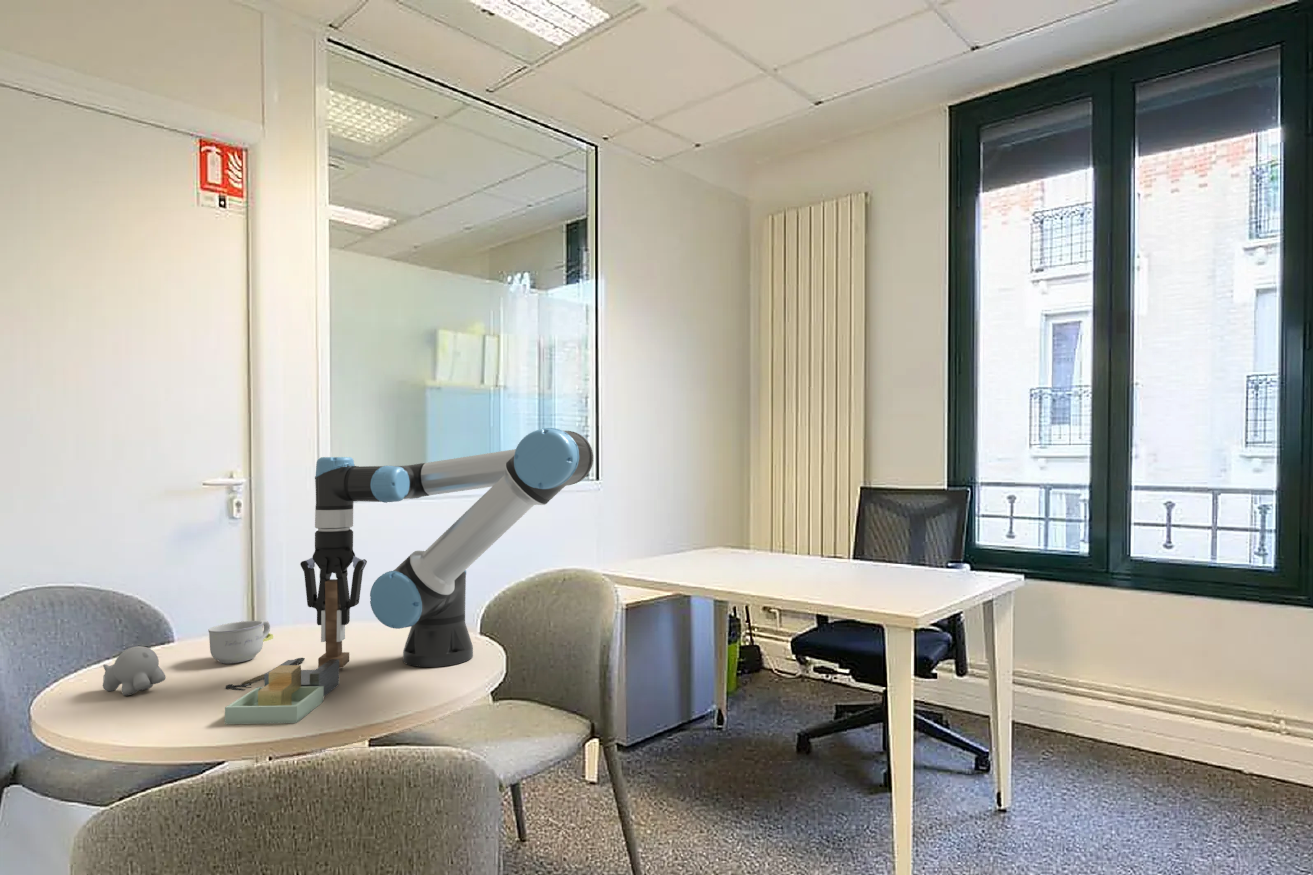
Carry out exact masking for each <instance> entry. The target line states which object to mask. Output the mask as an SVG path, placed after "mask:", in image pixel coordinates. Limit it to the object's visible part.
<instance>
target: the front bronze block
mask: <svg viewBox="0 0 1313 875" xmlns="http://www.w3.org/2000/svg"><path fill="white" fill-rule="evenodd" d="M262 687H263V688H262V689H260V690H259V691H258V706H284V705H292V683H274V684H268V685H266V686H265V687H264V686H262Z"/></svg>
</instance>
